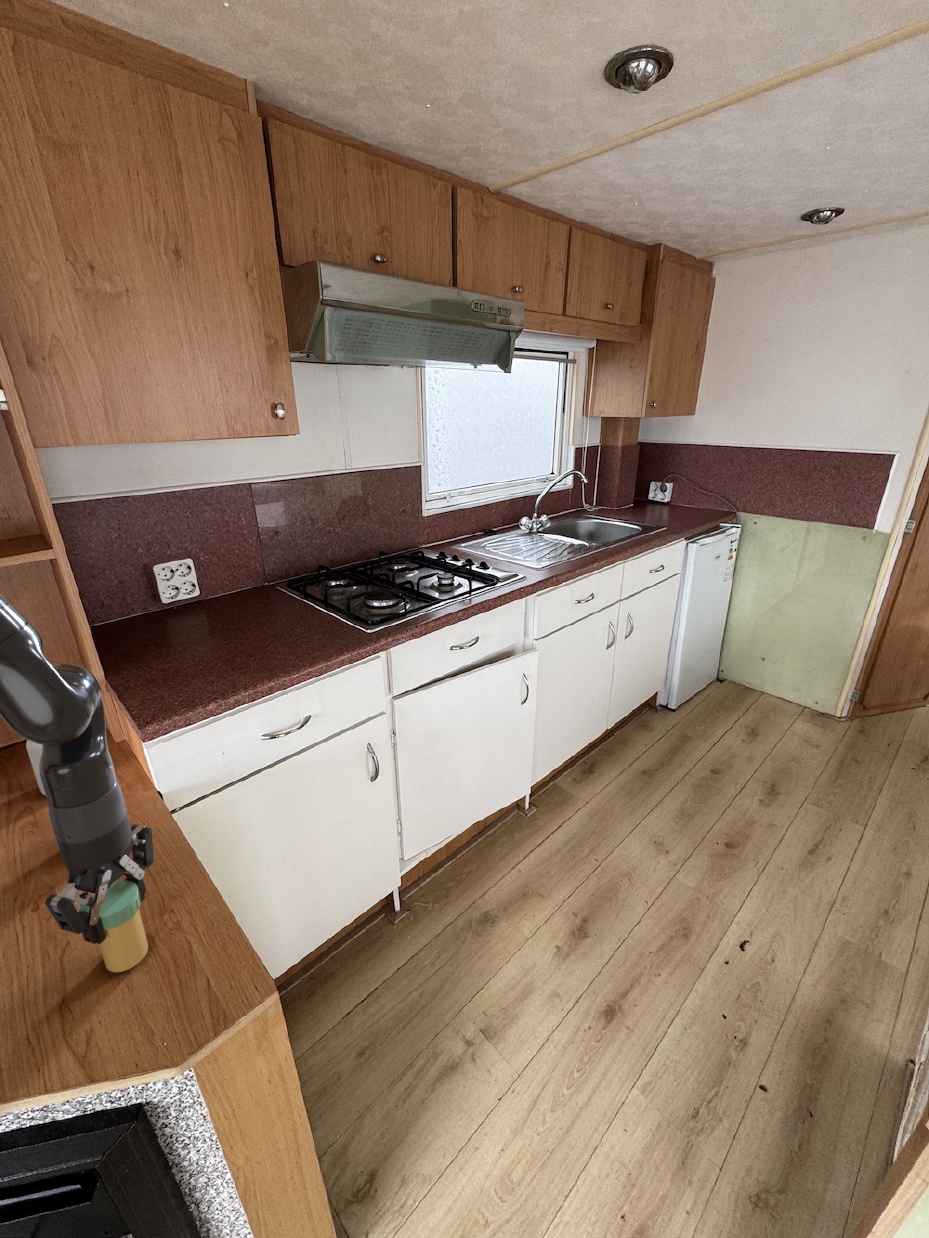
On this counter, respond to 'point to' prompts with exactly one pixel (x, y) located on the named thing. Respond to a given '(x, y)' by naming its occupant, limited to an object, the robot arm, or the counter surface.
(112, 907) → the lid
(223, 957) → the counter surface
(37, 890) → the counter surface
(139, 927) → the jar
